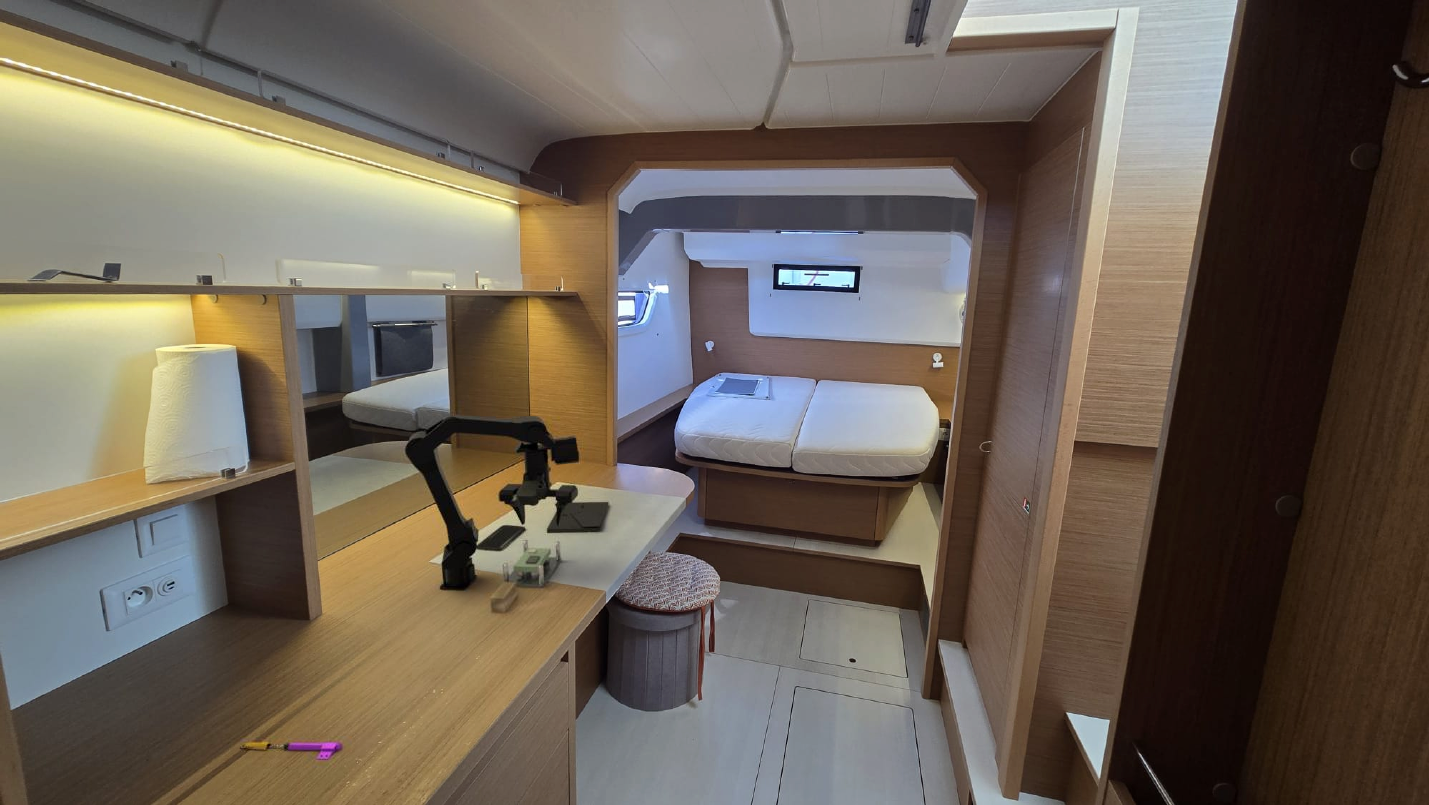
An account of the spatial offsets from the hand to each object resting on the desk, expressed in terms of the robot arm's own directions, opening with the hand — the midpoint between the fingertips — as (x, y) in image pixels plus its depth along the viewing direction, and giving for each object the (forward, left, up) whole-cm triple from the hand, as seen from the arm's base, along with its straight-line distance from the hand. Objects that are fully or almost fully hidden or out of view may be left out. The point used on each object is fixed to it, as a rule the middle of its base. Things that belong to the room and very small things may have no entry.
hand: (540, 524), depth 142 cm
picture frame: (0, +33, -14) cm, 35 cm away
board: (-2, -2, -10) cm, 10 cm away
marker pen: (-20, -60, -13) cm, 64 cm away
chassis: (-2, -2, -13) cm, 13 cm away
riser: (-3, -16, -13) cm, 21 cm away
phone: (-18, +17, -13) cm, 28 cm away
